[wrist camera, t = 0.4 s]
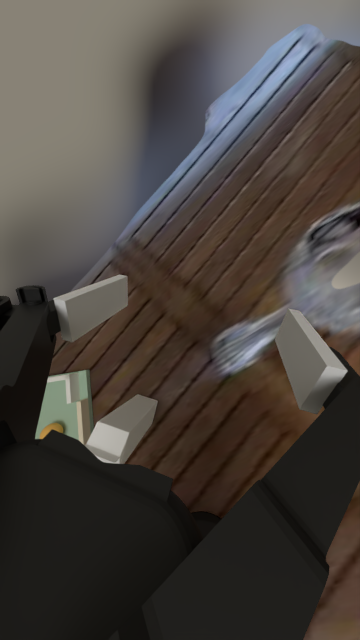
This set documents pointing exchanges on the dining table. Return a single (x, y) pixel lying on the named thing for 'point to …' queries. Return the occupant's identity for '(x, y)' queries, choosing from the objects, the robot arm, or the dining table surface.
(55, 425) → the ball
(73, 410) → the pitch
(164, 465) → the dining table surface
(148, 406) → the milk
